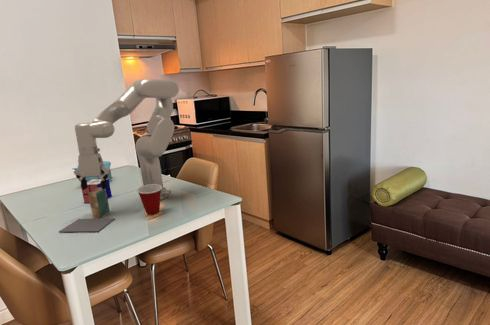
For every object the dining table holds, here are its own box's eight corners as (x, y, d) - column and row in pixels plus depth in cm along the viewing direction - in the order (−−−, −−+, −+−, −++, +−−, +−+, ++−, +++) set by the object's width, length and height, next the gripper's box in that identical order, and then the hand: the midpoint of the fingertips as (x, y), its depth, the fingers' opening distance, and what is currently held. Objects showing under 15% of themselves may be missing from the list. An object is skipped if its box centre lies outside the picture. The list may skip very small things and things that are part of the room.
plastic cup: (148, 219, 148) (144, 193, 145) (136, 214, 156) (132, 189, 153) (170, 211, 155) (166, 185, 152) (157, 206, 163) (153, 182, 160)
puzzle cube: (101, 203, 176) (97, 184, 174) (84, 203, 178) (80, 185, 176) (112, 196, 186) (109, 178, 183) (95, 196, 188) (92, 179, 185)
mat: (115, 219, 152) (115, 218, 152) (98, 232, 140) (98, 231, 139) (78, 220, 155) (78, 218, 155) (58, 232, 143) (58, 231, 143)
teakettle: (115, 177, 225) (111, 155, 222) (109, 185, 207) (104, 161, 204) (84, 181, 223) (80, 159, 219) (75, 190, 205) (70, 165, 201)
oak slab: (110, 211, 163) (105, 187, 160) (100, 218, 155) (95, 193, 152) (103, 211, 163) (98, 187, 160) (93, 218, 156) (87, 193, 153)
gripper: (111, 149, 154) (116, 186, 158) (76, 150, 157) (82, 186, 161) (101, 152, 147) (107, 191, 150) (65, 153, 150) (72, 191, 154)
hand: (94, 188), depth 156 cm, fingers open, 9 cm apart
